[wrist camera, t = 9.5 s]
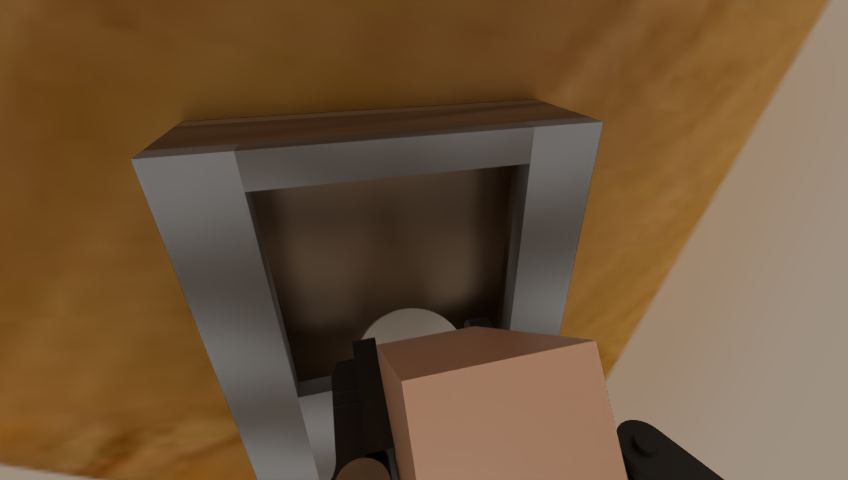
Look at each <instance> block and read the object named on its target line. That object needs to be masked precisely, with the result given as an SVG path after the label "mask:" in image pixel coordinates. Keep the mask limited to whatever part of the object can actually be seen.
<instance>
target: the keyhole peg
mask: <svg viewBox="0 0 848 480" xmlns="http://www.w3.org/2000/svg"><path fill="white" fill-rule="evenodd" d="M373 337H375V340H376V348H377V355H378V361H379V366H380V372H381V377H382V382H383V388H384V393H385V398H386V404H387V409H388V415H389V420H390V425H391V431H392V436H393V441H394V447H395V459H396V472H397V476H398V480H628V479H627V475H626V470H625V466H624V462H623V457H622V453H621V448H620V444H619V440H618V435H617V431H616V427H615V422H614V418H613V414H612V409H611V405H610V400H609V396H608V392H607V387H606V383H605V378H604V374H603V370H602V365H601V361H600V357H599V352H598V348H597V343H596V340H589V339H580V338H571V337H563V336H554V335H546V334H537V333H529V332H520V331H512V330H503V329H495V328H486V327H478V326H473V327H468V328H463V329H457V330H456V328H455V327H454V326H453V325H452V324H451V323H450V322H449V321H447V320H446V319H445V318H443V317H442V316H440V315H438V314H436V313H434V312H432V311H428V310H425V309H419V308H407V309H399V310H395V311H392V312H389V313H387V314H385V315H383V316H381V317H380V318H379V319H377V320H376V321H375V322H373V323H372V324H371V325H370V326H369V328H368V329H367V330H366V331H365V333H364V334H363V336H362V337H361V339H360V340H362V339H367V338H373Z"/></svg>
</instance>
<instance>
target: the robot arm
mask: <svg viewBox="0 0 848 480" xmlns="http://www.w3.org/2000/svg"><path fill="white" fill-rule="evenodd" d="M473 326H478V327H486V328H494V327H493V325H492V323H491V321H490V319H489V318H488V317H483V318H478V319H472V320H467V321H465V323H464V328H468V327H473ZM352 345H353V353H354V359H350V360H345V361H339V362H337V364H336V366H335V369H334V371H333V374H332V376H331V383H332V401H333V419H334V436H335V454H336V465H335V471H334V474H333V476H332V478H331V480H398V476H397V472H396V459H395V447H394V441H393V436H392V431H391V425H390V420H389V415H388V409H387V404H386V398H385V393H384V388H383V382H382V377H381V372H380V366H379V361H378V355H377V348H376V340H375V337H373V338H367V339H362V340H356V341H352ZM616 431H617V435H618V440H619V444H620V448H621V453H622V457H623V462H624V466H625V470H626V475H627V479H628V480H724V479H722V478H721V477H720V476H718V475H717V474H716V473H715V472H713V471H712V470H711V469H709V468H708V467H706V466H705V465H704V464H703V463H701V462H700V461H699V460H697V459H696V458H695V457H693V456H692V455H691V454H689V453H688V452H687V451H685V450H684V449H683V448H681V447H680V446H679V445H677V444H676V443H675V442H673V441H672V440H671V439H670V438H668V437H667V436H665V435H664V434H663V433H662V432H660V431H659V430H658V429H656V428H655V427H653V426H651V425H649V424H648V423H645V422H642V421H638V420H628V421H625V422H623V423H621V424H620V425H619V427H618V428H617V430H616Z"/></svg>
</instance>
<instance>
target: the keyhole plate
mask: <svg viewBox="0 0 848 480" xmlns="http://www.w3.org/2000/svg"><path fill="white" fill-rule="evenodd" d="M602 125H603V122H602V121H599V120H597V119H594V118H591V117H588V116H585V115H582V114H579V113H576V112H573V111H570V110H567V109H564V108H561V107H558V106H555V105H552V104H549V103H546V102H543V101H540V100H537V99H531V100H515V101H499V102H484V103H468V104H452V105H436V106H421V107H405V108H389V109H373V110H358V111H342V112H326V113H310V114H295V115H279V116H263V117H247V118H232V119H216V120H200V121H184V122H181V123H179V124H178V125H177V126H175V127H174V128H172V129H171V130H170V131H168V132H167V133H166V134H164V135H163V136H162V137H160V138H159V139H158V140H156V141H155V142H153V143H152V144H151V145H149V146H148V147H147V148H145V149H144V150H143V151H141V152H140V153H139V154H137V155H136V156H134V157H133V158H132V159H131V162H132V164H133V167H134V169H135V172H136V174H137V177H138V179H139V182H140V184H141V187H142V189H143V192H144V194H145V197H146V199H147V202H148V204H149V207H150V209H151V212H152V214H153V217H154V220H155V222H156V225H157V227H158V230H159V232H160V235H161V237H162V240H163V242H164V245H165V247H166V250H167V252H168V255H169V257H170V260H171V262H172V265H173V267H174V270H175V272H176V275H177V277H178V280H179V282H180V285H181V287H182V290H183V293H184V295H185V298H186V300H187V303H188V305H189V308H190V310H191V313H192V315H193V318H194V320H195V323H196V325H197V328H198V330H199V333H200V335H201V338H202V340H203V343H204V345H205V348H206V350H207V353H208V355H209V358H210V361H211V363H212V366H213V368H214V371H215V373H216V376H217V378H218V381H219V383H220V386H221V388H222V391H223V393H224V396H225V398H226V401H227V403H228V406H229V408H230V411H231V413H232V416H233V418H234V421H235V423H236V426H237V429H238V431H239V434H240V436H241V439H242V441H243V444H244V446H245V449H246V451H247V454H248V456H249V459H250V461H251V464H252V466H253V469H254V471H255V474H256V476H257V479H258V480H331V478H332V476H333V474H334V471H335V465H336V454H335V436H334V419H333V401H332V383H331V376H332V374H333V371H334V369H335V366H336V364H337V362H339V361H345V360H350V359H354V353H353V345H352V341H356V340H360V339H361V337H362V336H363V334H364V333H365V331H366V330H367V329H368V328H369V326H370V325H371V324H372V323H373V322H375V321H376V320H377V319H379V318H380V317H381V316H383V315H385V314H387V313H389V312H392V311H395V310H399V309H407V308H419V309H425V310H428V311H432V312H434V313H436V314H438V315H440V316H442V317H443V318H445V319H446V320H447V321H449V322H450V323H451V324H452V325H453V326H454V327H455V328H456V330H457V329H463V328H464V323H465V321H467V320H472V319H478V318H483V317H488V318H489V319H490V321H491V323H492V325H493V327H494V328H495V329H503V330H512V331H520V332H529V333H537V334H546V335H554V336H559V333H560V328H561V324H562V319H563V314H564V309H565V304H566V299H567V295H568V290H569V285H570V280H571V275H572V270H573V265H574V261H575V256H576V251H577V246H578V241H579V236H580V232H581V227H582V222H583V217H584V212H585V207H586V203H587V198H588V193H589V188H590V183H591V178H592V173H593V169H594V164H595V159H596V154H597V149H598V144H599V140H600V135H601V130H602Z"/></svg>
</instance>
